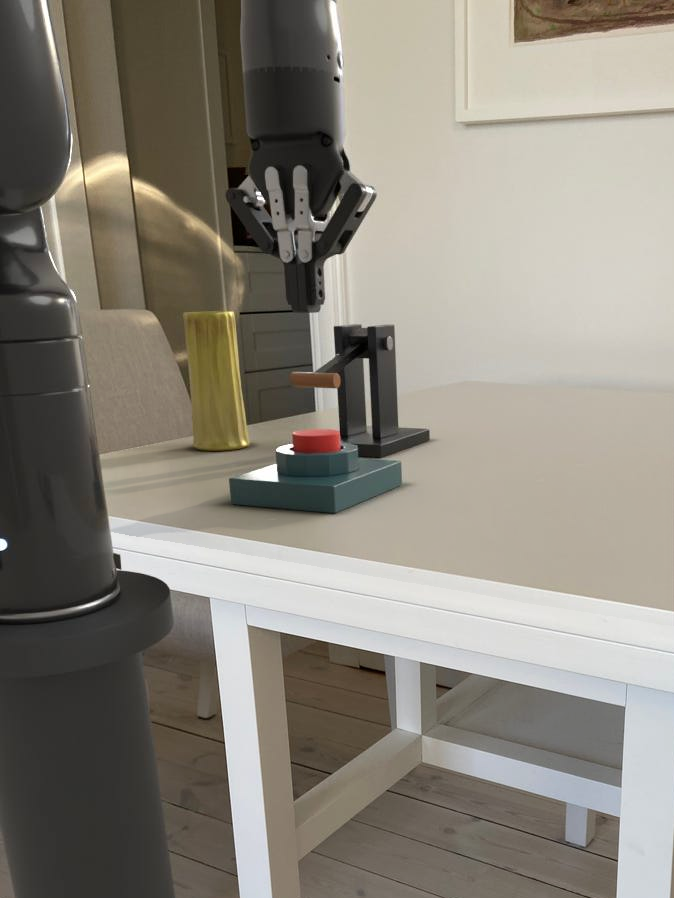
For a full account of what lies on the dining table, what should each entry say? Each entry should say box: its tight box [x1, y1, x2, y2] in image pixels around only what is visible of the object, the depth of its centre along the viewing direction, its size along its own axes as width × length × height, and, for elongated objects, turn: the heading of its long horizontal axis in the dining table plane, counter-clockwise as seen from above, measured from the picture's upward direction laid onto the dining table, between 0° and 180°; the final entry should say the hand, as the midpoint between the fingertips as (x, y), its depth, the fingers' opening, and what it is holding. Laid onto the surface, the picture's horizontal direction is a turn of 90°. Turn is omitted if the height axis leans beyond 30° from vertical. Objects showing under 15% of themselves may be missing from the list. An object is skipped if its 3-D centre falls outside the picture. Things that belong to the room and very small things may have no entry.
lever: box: [289, 327, 369, 389], centre depth 102 cm, size 13×5×2 cm, turn 158°
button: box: [291, 428, 341, 453], centre depth 85 cm, size 4×4×2 cm
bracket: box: [333, 323, 431, 459], centre depth 108 cm, size 12×9×13 cm
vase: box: [182, 310, 251, 452], centre depth 108 cm, size 6×6×14 cm
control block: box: [228, 442, 403, 514], centre depth 86 cm, size 12×10×4 cm
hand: (306, 312), depth 81 cm, fingers closed
